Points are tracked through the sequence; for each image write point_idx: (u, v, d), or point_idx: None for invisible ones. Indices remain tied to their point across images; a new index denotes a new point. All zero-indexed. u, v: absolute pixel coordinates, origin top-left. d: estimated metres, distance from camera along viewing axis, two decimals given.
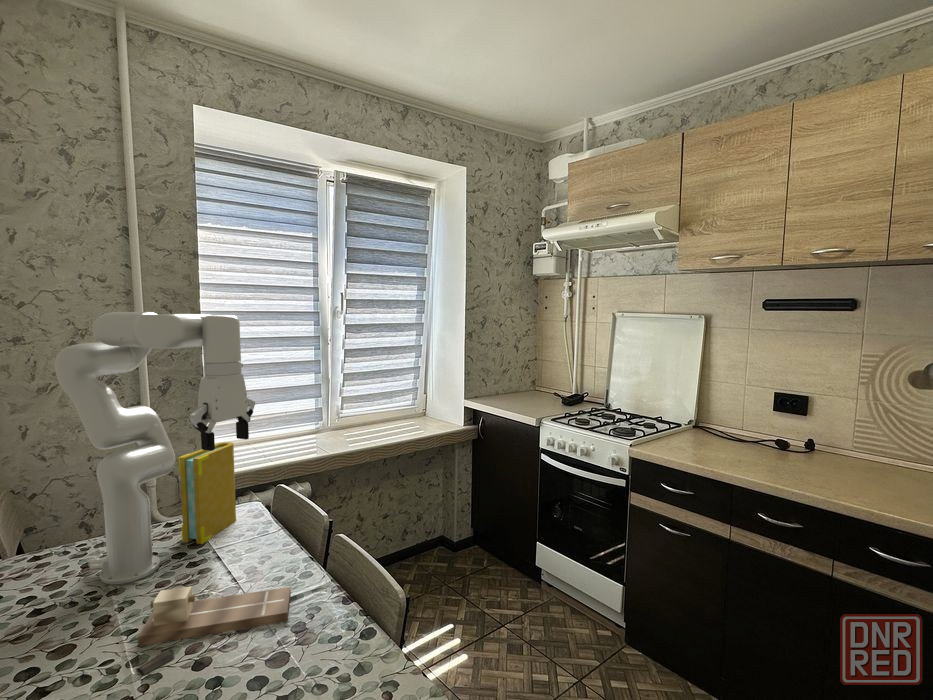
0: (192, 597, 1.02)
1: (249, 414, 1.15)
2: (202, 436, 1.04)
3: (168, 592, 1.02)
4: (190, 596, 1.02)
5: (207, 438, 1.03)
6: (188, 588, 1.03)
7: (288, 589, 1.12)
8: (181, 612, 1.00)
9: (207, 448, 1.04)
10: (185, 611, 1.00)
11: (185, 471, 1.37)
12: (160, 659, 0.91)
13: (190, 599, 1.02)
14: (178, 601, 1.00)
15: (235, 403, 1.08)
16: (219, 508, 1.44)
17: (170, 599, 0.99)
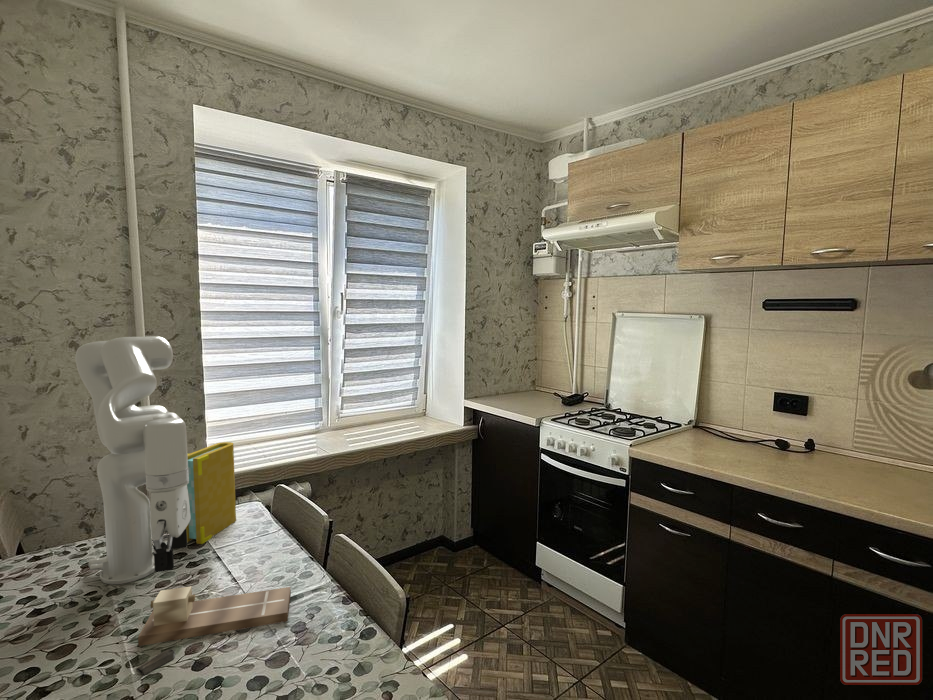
0: (192, 597, 1.02)
1: None
2: None
3: (168, 592, 1.02)
4: (190, 596, 1.02)
5: None
6: (188, 588, 1.03)
7: (288, 589, 1.12)
8: (181, 612, 1.00)
9: None
10: (185, 611, 1.00)
11: None
12: (160, 659, 0.91)
13: (190, 599, 1.02)
14: (178, 601, 1.00)
15: None
16: (219, 508, 1.44)
17: (170, 599, 0.99)
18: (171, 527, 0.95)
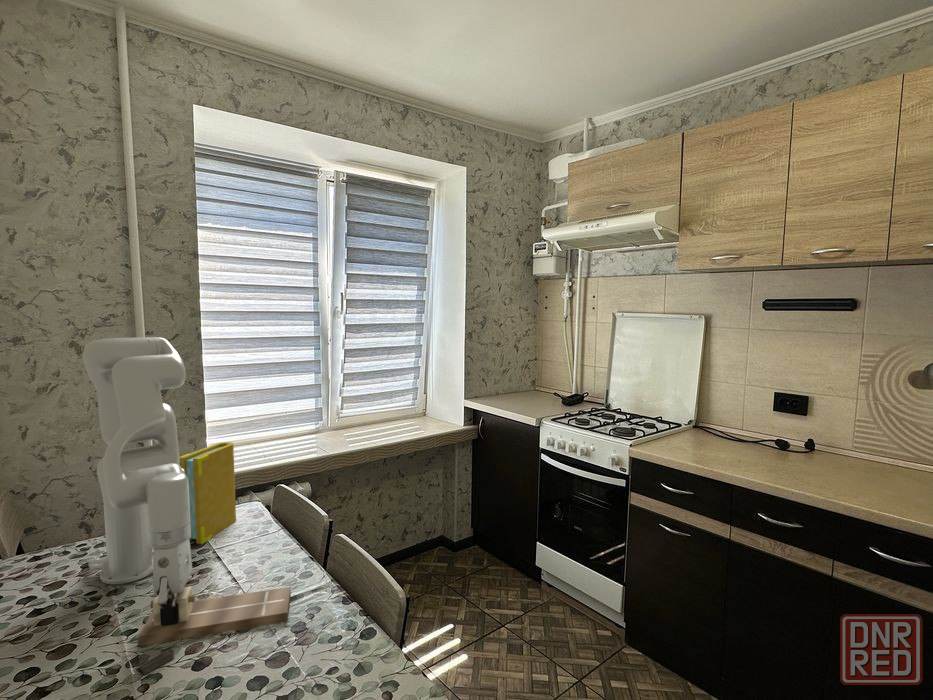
0: (192, 597, 1.02)
1: None
2: None
3: None
4: (190, 596, 1.02)
5: None
6: (188, 588, 1.03)
7: (288, 589, 1.12)
8: (181, 612, 1.00)
9: None
10: (185, 611, 1.00)
11: (185, 471, 1.37)
12: (160, 659, 0.91)
13: (190, 599, 1.02)
14: (178, 601, 1.00)
15: None
16: (219, 508, 1.44)
17: None
18: (173, 583, 0.96)
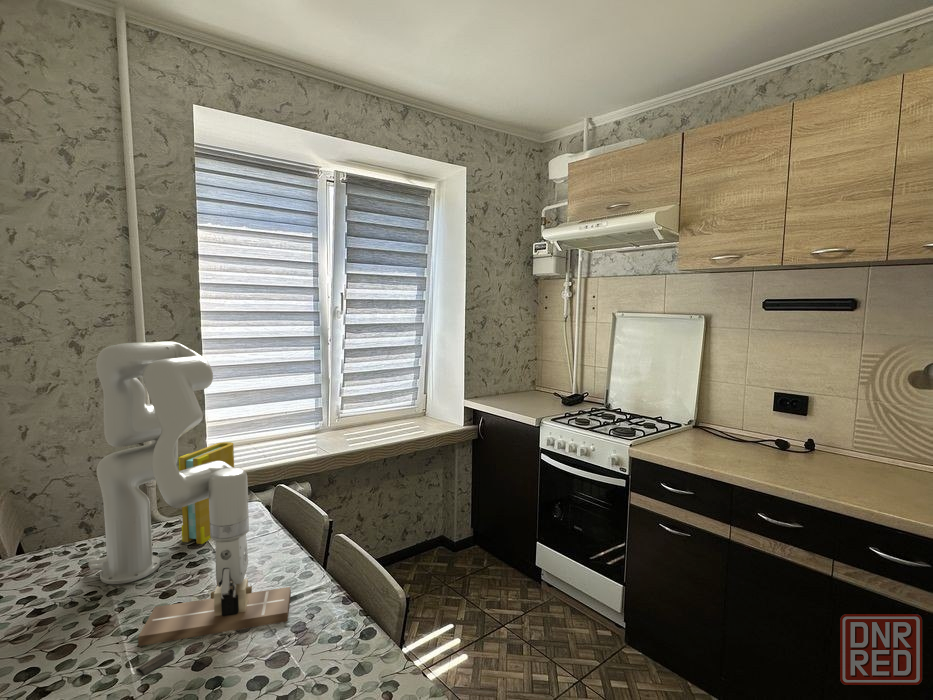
0: (249, 589, 1.05)
1: None
2: None
3: None
4: (247, 588, 1.05)
5: None
6: (245, 580, 1.07)
7: (288, 589, 1.12)
8: (240, 603, 1.03)
9: None
10: (244, 602, 1.03)
11: None
12: (160, 659, 0.91)
13: (248, 590, 1.05)
14: (237, 592, 1.03)
15: None
16: None
17: None
18: (235, 575, 1.00)
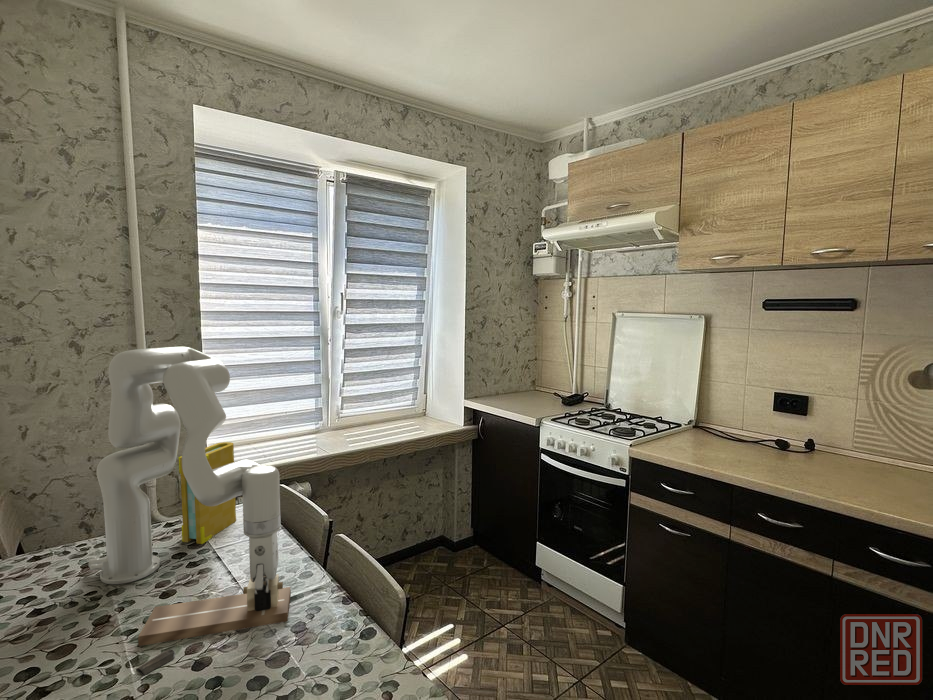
0: (281, 584, 1.07)
1: None
2: None
3: None
4: (279, 583, 1.07)
5: None
6: (276, 576, 1.08)
7: (288, 589, 1.12)
8: (272, 598, 1.05)
9: None
10: (275, 597, 1.05)
11: None
12: (160, 659, 0.91)
13: (279, 586, 1.07)
14: (270, 587, 1.05)
15: None
16: (219, 508, 1.44)
17: None
18: (268, 570, 1.01)
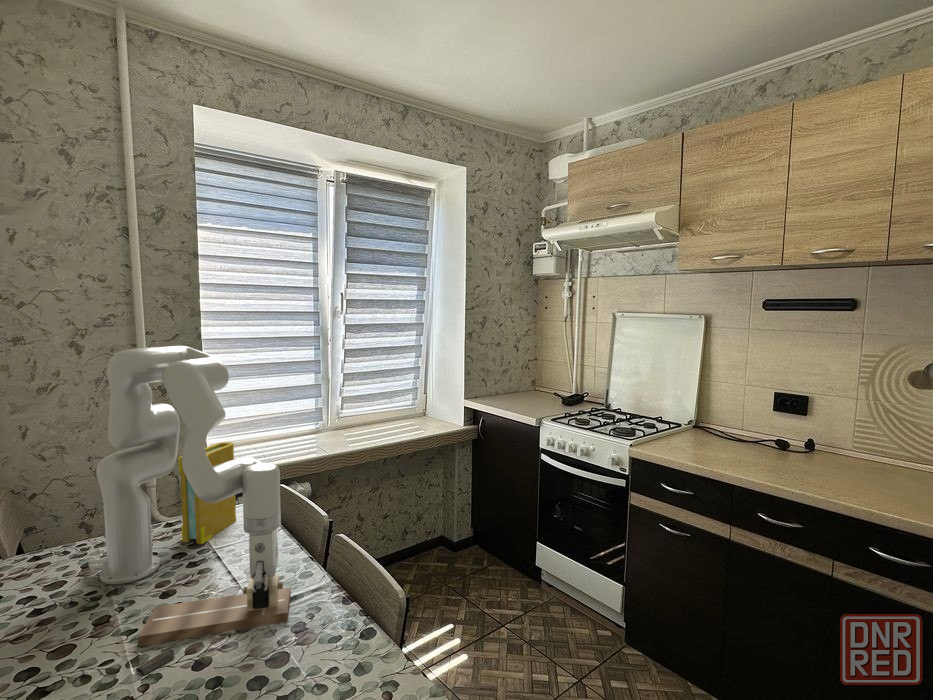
0: (281, 584, 1.07)
1: None
2: None
3: None
4: (279, 583, 1.07)
5: None
6: (276, 576, 1.08)
7: (288, 589, 1.12)
8: (272, 598, 1.05)
9: None
10: (276, 597, 1.05)
11: None
12: (160, 659, 0.91)
13: (279, 586, 1.07)
14: (270, 587, 1.05)
15: None
16: (219, 508, 1.44)
17: None
18: (268, 568, 1.02)
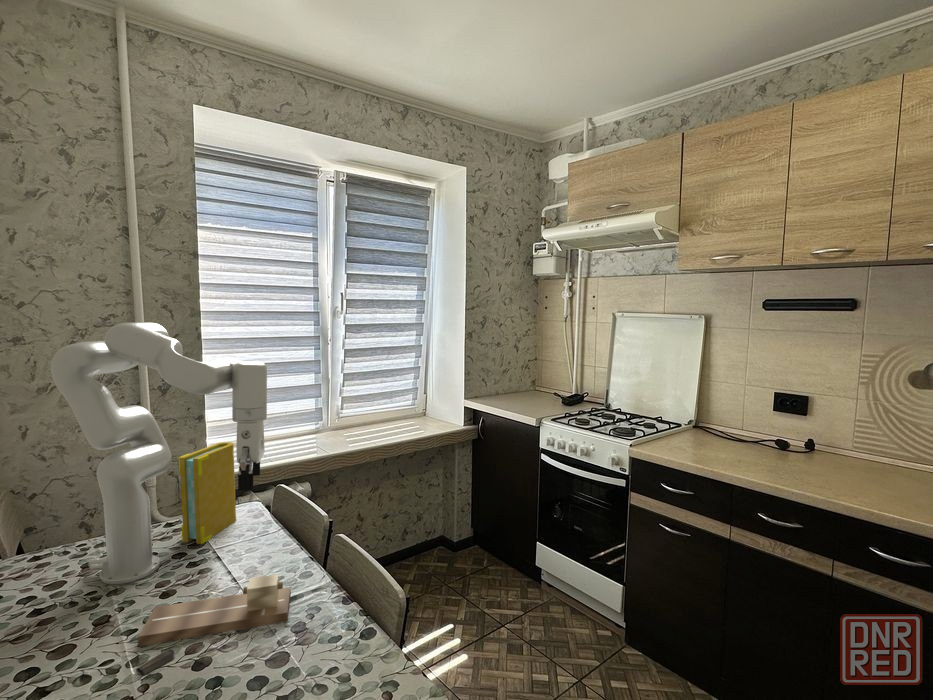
0: (281, 584, 1.07)
1: None
2: None
3: (258, 579, 1.07)
4: (279, 583, 1.07)
5: None
6: (276, 576, 1.08)
7: (288, 589, 1.12)
8: (272, 598, 1.05)
9: None
10: (276, 597, 1.05)
11: (185, 471, 1.37)
12: (160, 659, 0.91)
13: (279, 586, 1.07)
14: (270, 587, 1.05)
15: None
16: (219, 508, 1.44)
17: (262, 586, 1.04)
18: (253, 453, 1.11)
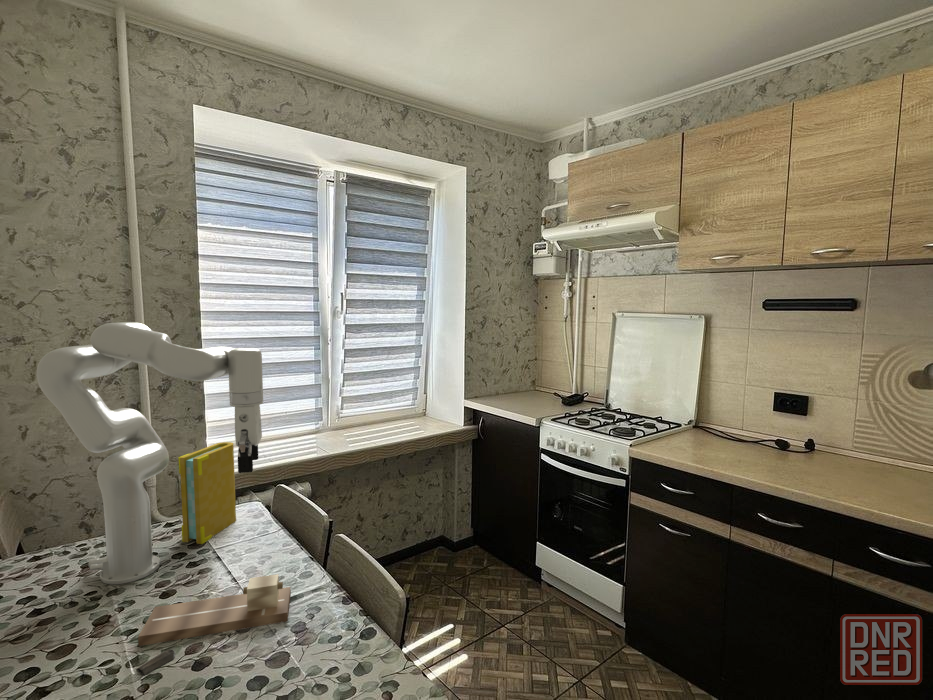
0: (281, 584, 1.07)
1: None
2: None
3: (258, 579, 1.07)
4: (279, 583, 1.07)
5: None
6: (276, 576, 1.08)
7: (288, 589, 1.12)
8: (272, 598, 1.05)
9: None
10: (276, 597, 1.05)
11: (185, 471, 1.37)
12: (160, 659, 0.91)
13: (279, 586, 1.07)
14: (270, 587, 1.05)
15: None
16: (219, 508, 1.44)
17: (262, 586, 1.04)
18: (251, 436, 1.14)
